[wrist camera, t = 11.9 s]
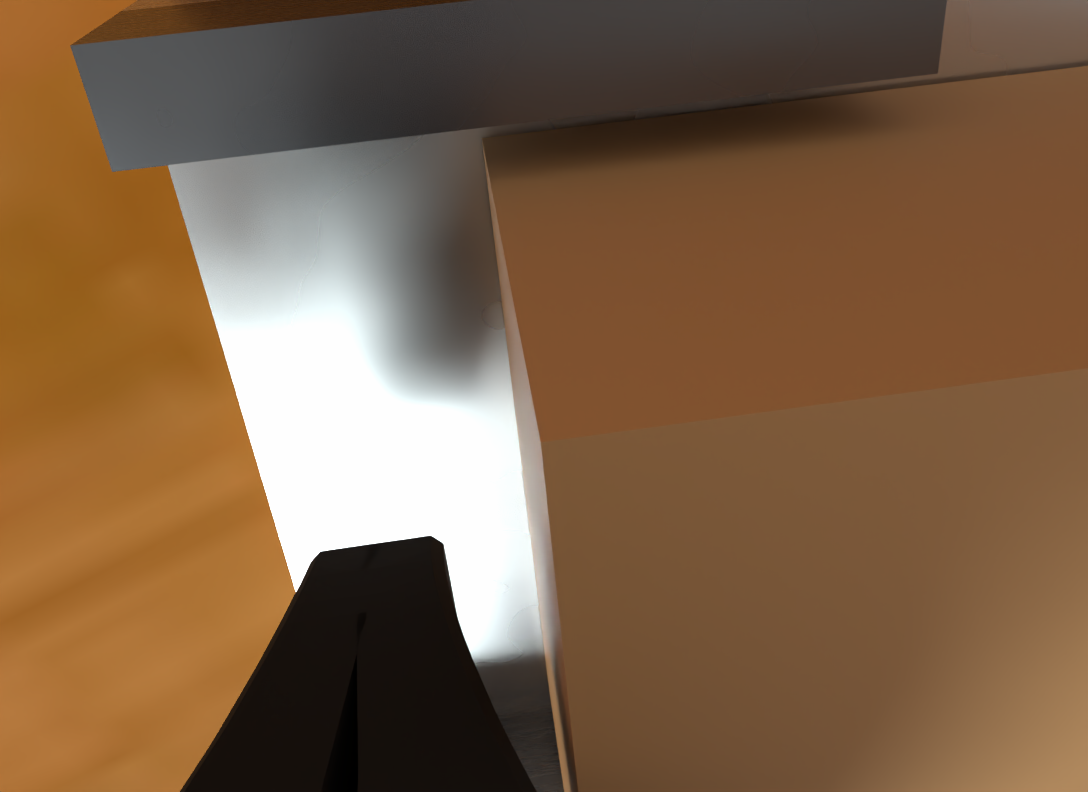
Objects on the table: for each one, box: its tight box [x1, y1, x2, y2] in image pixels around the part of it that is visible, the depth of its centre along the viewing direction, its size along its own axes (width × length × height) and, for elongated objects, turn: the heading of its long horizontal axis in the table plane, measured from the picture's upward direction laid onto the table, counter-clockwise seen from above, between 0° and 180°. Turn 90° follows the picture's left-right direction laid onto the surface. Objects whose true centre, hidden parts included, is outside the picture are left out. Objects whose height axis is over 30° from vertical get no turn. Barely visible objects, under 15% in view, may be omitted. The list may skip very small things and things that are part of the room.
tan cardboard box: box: [482, 66, 1088, 792], centre depth 10 cm, size 8×8×5 cm
